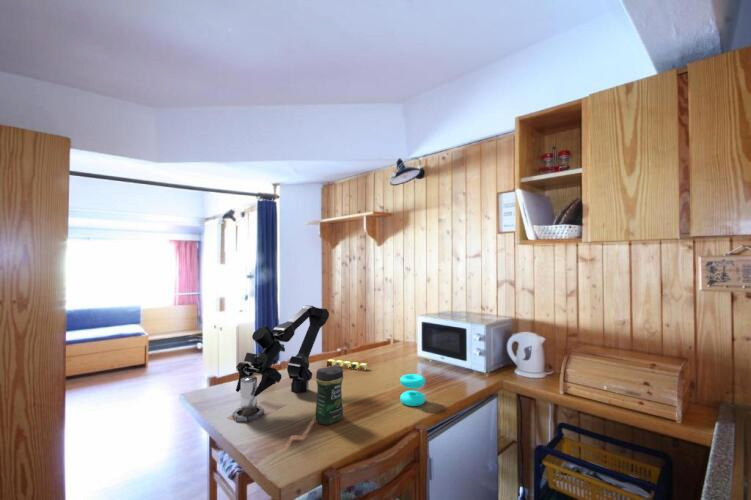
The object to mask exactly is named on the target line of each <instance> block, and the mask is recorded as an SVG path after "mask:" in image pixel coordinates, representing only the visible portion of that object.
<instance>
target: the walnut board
mask: <svg viewBox="0 0 751 500" xmlns="http://www.w3.org/2000/svg"><path fill="white" fill-rule="evenodd" d="M287 405H288V404H287V403H282V402H278V401H275V400H270V399H264V400H261V401H260V402H257V406H261V407H262V408H263V409H264V414H263V415H262V416H261V417H260V418H259V419H256V420H253V421H249V422H240V423H241V424H245V425H248V426H249V424H252V423H254V422H256V421H258V420H260V419H262V418H263V417H266V416H268V415H270V414H272V413H274V412H275V411H277V410H279V409H282V408H283V407H286V406H287ZM257 413H258V411H257ZM239 416H241V413H240V414H239ZM226 419H228V420H232V421H234V422H236V421H235V420H234V419H233V418H232V414H231V415H229V416H227V417H226Z"/></svg>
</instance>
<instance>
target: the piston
mask: <svg viewBox="0 0 751 500" xmlns="http://www.w3.org/2000/svg"><path fill="white" fill-rule="evenodd" d="M257 387H258V377H257V376H256V375H255V376H254V375H252V376H247V377H243V378H241V390H240V408H241V416H250V415H253V414H257V404H258V395H257V396H256V397H255V396H254V393H255V391H256V389H257Z"/></svg>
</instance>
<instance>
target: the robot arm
mask: <svg viewBox="0 0 751 500" xmlns="http://www.w3.org/2000/svg"><path fill="white" fill-rule="evenodd" d="M329 317H330V312H329V310H328V309H327V308H322V307H316V306H313V305H303V307H302V308H301V309H300V310H299V311H298V312H297V313H296V314H294V315H293V316H292V317H291V318H290V319H288V320H287V321H286V322H283V323H281V324H278V325H276V326H274V328H273V329H272V330H271V329H270V328H269V326H268V325H262V326H261V327H260V328H258V329H257V330H255V331H254V332H253V333H252V337H251V338H252V340H253V341H254V342H255V343H256V344H257V345H258V346H259V347H260V348H261V349H263V350H262V352H258V353H257V354H256V353H252V352H246V353H245V356H244V359H243V361H240V362H238V364H237V365H236V371H237V372H238V376H239V377H238V381H237V383H236V389H235V391H236V393H239V392H241V378H243V377H247V376H254V374H255V375H259V376H261V380H260V382H259V383H258V384H257V389H256V391H255V393H254V396H255V397H256V396H257V397H258V396H259V395H260V394H261V393H263V392H264V391H266V390H267V389H269V388H270V387H271V386H273V385H276V384H277V383H278V384H279V383H280V382H281V380H282V374H281V373H280V371H278V369H276V368H275V367H272V366H273V365H275V366H276V364H277V362H276V361H275V360H276V359H277V358H278V356H279V354H280V352H286V348H285V344H284V343H288V342H290V341H291V339H292V338H293V337H294V336H295V332H296V330H297V329H298V328H299V327H301V325H303V323H305V322H306V321H307V320H308V321H309V326H308V328H307V331H306V333H305V335H304V337H303V340H302V342H301V345H300V347H299V349H298V352H297V354H296V355H295V356H293V355H291V357H290V358H289V362H288V364H287V367H286V368H287V369H286V370H287V374H288V377H289V378H288V379H291V380H292V382H291V383H290V385H291V387H290V392H292V393H294V394H295V393H296V394H303V393H307V392H309V390H310V389H309V381H310V380H312V378H313V373H312V372H311V370H310V369H309V367H310V361H309V358H310V355H311V353H312V351H313V347H314V344H315V342H316V340H317V337H318V334H319V331H320V329H321V328H322V327H323V326H325V324H326V323H327V322H328V319H329ZM281 343H282V344H281ZM249 363H250V364H249Z"/></svg>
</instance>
